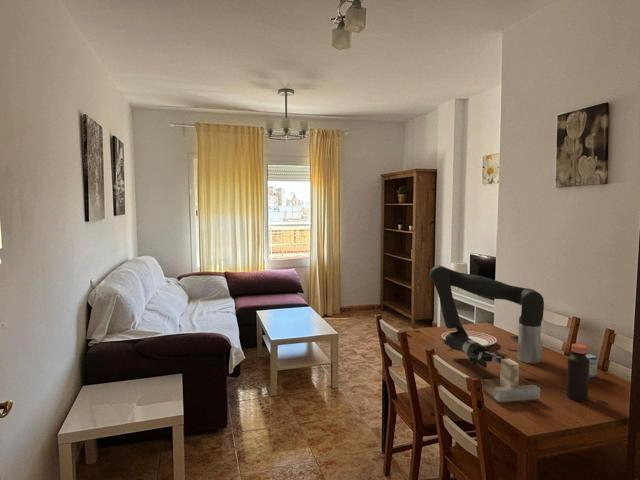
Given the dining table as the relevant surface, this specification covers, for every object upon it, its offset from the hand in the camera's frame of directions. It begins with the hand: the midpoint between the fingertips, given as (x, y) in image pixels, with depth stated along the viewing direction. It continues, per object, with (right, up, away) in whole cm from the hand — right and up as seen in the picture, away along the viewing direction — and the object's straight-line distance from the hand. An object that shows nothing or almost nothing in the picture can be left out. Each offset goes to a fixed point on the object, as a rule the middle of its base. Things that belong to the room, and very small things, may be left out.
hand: (495, 364), depth 163 cm
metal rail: (+2, -8, -14) cm, 16 cm away
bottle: (+26, -9, -11) cm, 29 cm away
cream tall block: (+1, -8, -9) cm, 12 cm away
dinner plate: (+8, -5, +53) cm, 54 cm away
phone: (+39, -5, +55) cm, 67 cm away
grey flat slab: (+1, -9, -5) cm, 10 cm away
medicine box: (+42, -8, +10) cm, 44 cm away
